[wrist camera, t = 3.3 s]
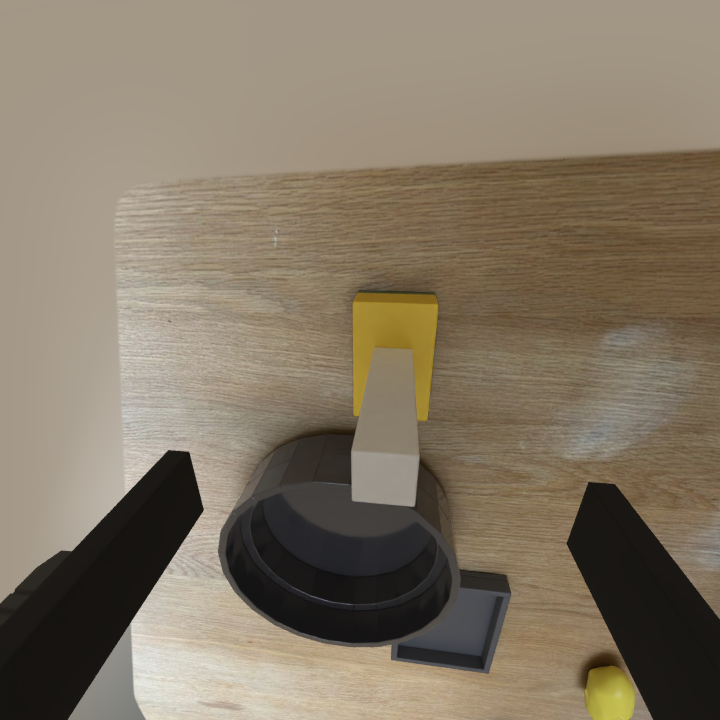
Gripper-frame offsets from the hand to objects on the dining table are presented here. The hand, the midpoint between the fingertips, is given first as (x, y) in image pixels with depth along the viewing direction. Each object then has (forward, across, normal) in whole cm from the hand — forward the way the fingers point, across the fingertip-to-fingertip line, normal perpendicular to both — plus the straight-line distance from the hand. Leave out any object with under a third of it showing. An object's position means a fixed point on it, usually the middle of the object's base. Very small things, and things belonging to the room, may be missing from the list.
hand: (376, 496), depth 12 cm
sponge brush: (+14, 0, 0) cm, 14 cm away
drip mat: (+14, +7, -29) cm, 33 cm away
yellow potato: (+14, +24, -36) cm, 45 cm away
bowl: (+14, -3, -16) cm, 22 cm away
